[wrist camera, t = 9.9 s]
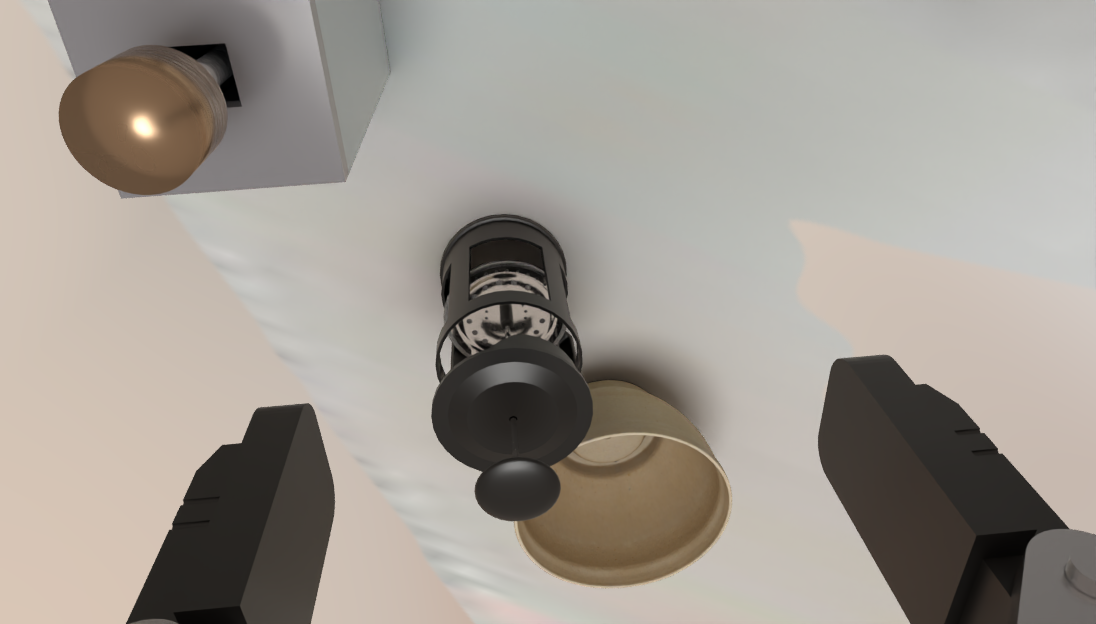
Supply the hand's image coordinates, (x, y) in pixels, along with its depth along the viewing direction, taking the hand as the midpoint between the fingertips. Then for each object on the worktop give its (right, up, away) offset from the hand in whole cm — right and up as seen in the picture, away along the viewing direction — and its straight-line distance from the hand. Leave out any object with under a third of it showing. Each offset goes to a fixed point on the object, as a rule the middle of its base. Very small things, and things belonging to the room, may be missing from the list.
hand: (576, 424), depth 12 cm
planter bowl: (+4, -8, +52) cm, 53 cm away
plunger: (-15, +20, +32) cm, 40 cm away
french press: (-3, +5, +44) cm, 45 cm away
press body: (-15, +21, +33) cm, 42 cm away
